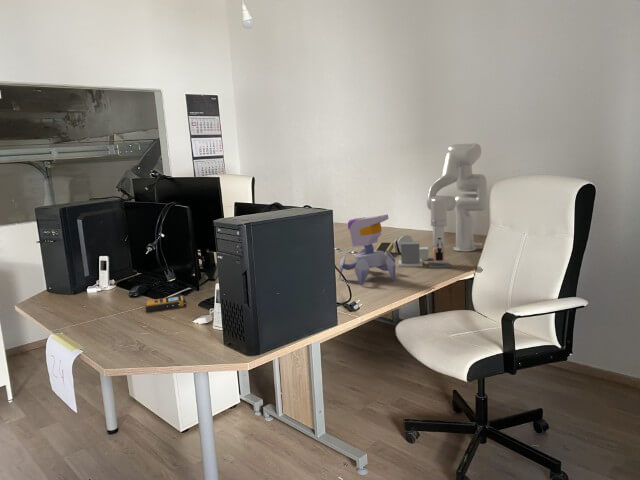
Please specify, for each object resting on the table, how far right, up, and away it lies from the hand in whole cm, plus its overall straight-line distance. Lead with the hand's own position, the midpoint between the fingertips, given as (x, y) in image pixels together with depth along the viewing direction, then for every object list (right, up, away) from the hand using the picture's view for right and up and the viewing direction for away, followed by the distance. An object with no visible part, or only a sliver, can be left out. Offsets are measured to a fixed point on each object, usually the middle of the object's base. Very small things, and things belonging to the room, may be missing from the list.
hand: (438, 258), depth 244 cm
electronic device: (-123, -19, -41) cm, 131 cm away
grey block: (-4, -1, +17) cm, 17 cm away
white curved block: (-10, +3, +38) cm, 40 cm away
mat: (0, -4, +1) cm, 4 cm away
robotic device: (-36, -9, -15) cm, 40 cm away
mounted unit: (-13, -3, +7) cm, 15 cm away
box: (-24, 0, +28) cm, 37 cm away
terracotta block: (0, -1, 0) cm, 1 cm away
